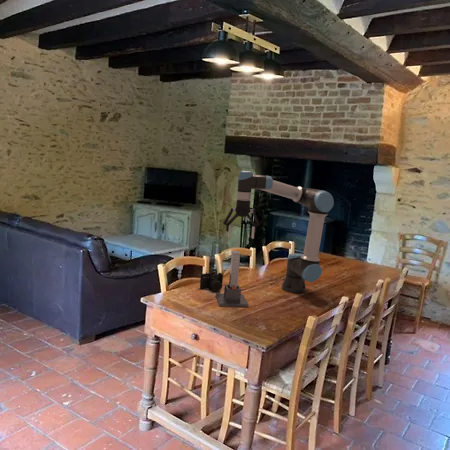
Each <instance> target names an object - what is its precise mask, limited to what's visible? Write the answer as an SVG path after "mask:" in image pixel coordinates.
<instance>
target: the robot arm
mask: <svg viewBox="0 0 450 450" xmlns="http://www.w3.org/2000/svg"><path fill="white" fill-rule="evenodd" d="M252 190H261V191H264V192H267V193H271V194H274V195H277V196H281V197H284V198H287V199H290V200H292V201H293V202H294V203H297V204H300V205H302V206H304V207H306V208H308V209H307V213H308V214H309V219H308V225H307V231H306V238H305V242H304V243H305V244H304V249H303V253H297V252H295V253H289V254H288V256H287V259H286V260H287V262H286V271H285V277H284V279H283V282H282V283H281V289H282V290H283V291H286V292H288V293H293V294H302V293H305V292H306V290H307V285H306V282H308V283H314V282H316V281H317V280H319V279H320V278H321V276H322V274H323V269H322V267H321V265H320V263H321V259H320V257H319V253H320V246H321V241H322V235H323V229H324V223H325V218H326V217H327V216H328V215H329V212H330V211H331V210H332V209H333V207H334V205H335V204H334V203H335V202H334V201H335V200H334V198H333V197H334V196H333V195H332V194H331V193H330V192H328V191H326V190H323V189H321V190H320V189H316V188H307V187H303V186H300V185H299V186H294V185H291V184H287V183H284V182H280V181H277V180H274V179H273V177H272V176H270V175H261V174H256V173H254V172H253V171H250V170H239V172H238V177H237V191H236V202H235V203H236V205H235V208H234V207H230V208H229V211H228V213H227V215H226V216H225V218H224V220H223V222H222V223H223V225H225V226H226V227H225V231H226V232H227V234H226V235H227V238H228V239H230V238H231V224H232V223H233V222H234V221H235V220H236V219H237V218H238V217H241V218H243V217H244V218H245V217H247V219H248V220H249V221H250V223H251V224H252V225H253V226H252V227H251V239H252V240H253V239H255V233H257V228H258V227H260V226H261V224H260V221H259V218H258V216H257V213H256V208H252V209H251V199H252V198H251V197H252ZM233 213H235V214H234V215H233V216H232V214H233ZM250 213H251V214H252V216H253V217H254V219H253V218H252V217H251V216H250ZM231 216H232V217H231ZM305 281H306V282H305Z"/></svg>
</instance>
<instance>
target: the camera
mask: <svg viewBox="0 0 450 450" xmlns="http://www.w3.org/2000/svg"><path fill="white" fill-rule="evenodd" d="M223 281H224V275H223V273H222V272H218V273H216V271H211V272H205V273H201V274H200V280H199V288H200V289H201V288H202V290H203V289H205V290H206V289H207V288H209V289H207V290H212V291H213V292H220V290H221V289H222V288H223Z"/></svg>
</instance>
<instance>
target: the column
mask: <svg viewBox="0 0 450 450" xmlns="http://www.w3.org/2000/svg"><path fill="white" fill-rule="evenodd" d="M240 260H241V252H240V250H231V258H230V268H229V269H230V270H229V280H228V284H229V288H231V289H232V287H236V289H237V285H239V284H238V281H239V270H240Z"/></svg>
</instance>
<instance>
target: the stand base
mask: <svg viewBox="0 0 450 450" xmlns="http://www.w3.org/2000/svg"><path fill="white" fill-rule="evenodd" d="M223 288H224V291H223V293H219V292H218V293H217V292H216V293H215V298H216V301H217V303H218V306H219V307H228V308H229V307H234V308H235V307H237V308H249V304H250V303H248V301H247V299H246V297H245V295H244V294H243V293H242V288H241V286H240V284H237V289H236V287H232V289H231V288H229V283H228V284H227V283H226V284H224V287H223Z"/></svg>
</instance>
